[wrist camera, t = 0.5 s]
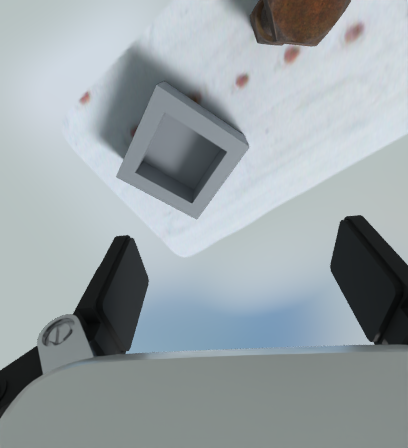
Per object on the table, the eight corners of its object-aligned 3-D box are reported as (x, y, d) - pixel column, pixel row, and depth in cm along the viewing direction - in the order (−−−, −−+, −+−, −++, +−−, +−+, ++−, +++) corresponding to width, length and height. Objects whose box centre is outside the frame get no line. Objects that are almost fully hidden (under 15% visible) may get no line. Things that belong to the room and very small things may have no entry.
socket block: (164, 81, 32) (156, 84, 27) (244, 135, 35) (249, 147, 31) (127, 162, 38) (115, 176, 34) (198, 201, 42) (196, 219, 37)
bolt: (237, 5, 27) (258, -39, 15) (281, -22, 26) (345, -94, 14) (253, 61, 30) (283, 63, 18) (294, 39, 29) (356, 26, 17)
